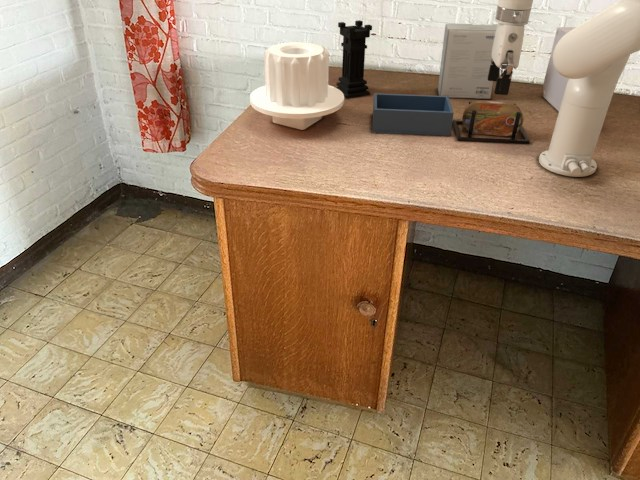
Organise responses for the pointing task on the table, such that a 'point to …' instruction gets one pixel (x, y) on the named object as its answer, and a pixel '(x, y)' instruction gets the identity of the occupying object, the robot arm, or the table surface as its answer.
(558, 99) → the game console
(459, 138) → the rack
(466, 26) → the hard drive box
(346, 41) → the chess piece
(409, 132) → the open box
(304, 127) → the flanged gear
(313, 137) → the table surface
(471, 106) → the tin
